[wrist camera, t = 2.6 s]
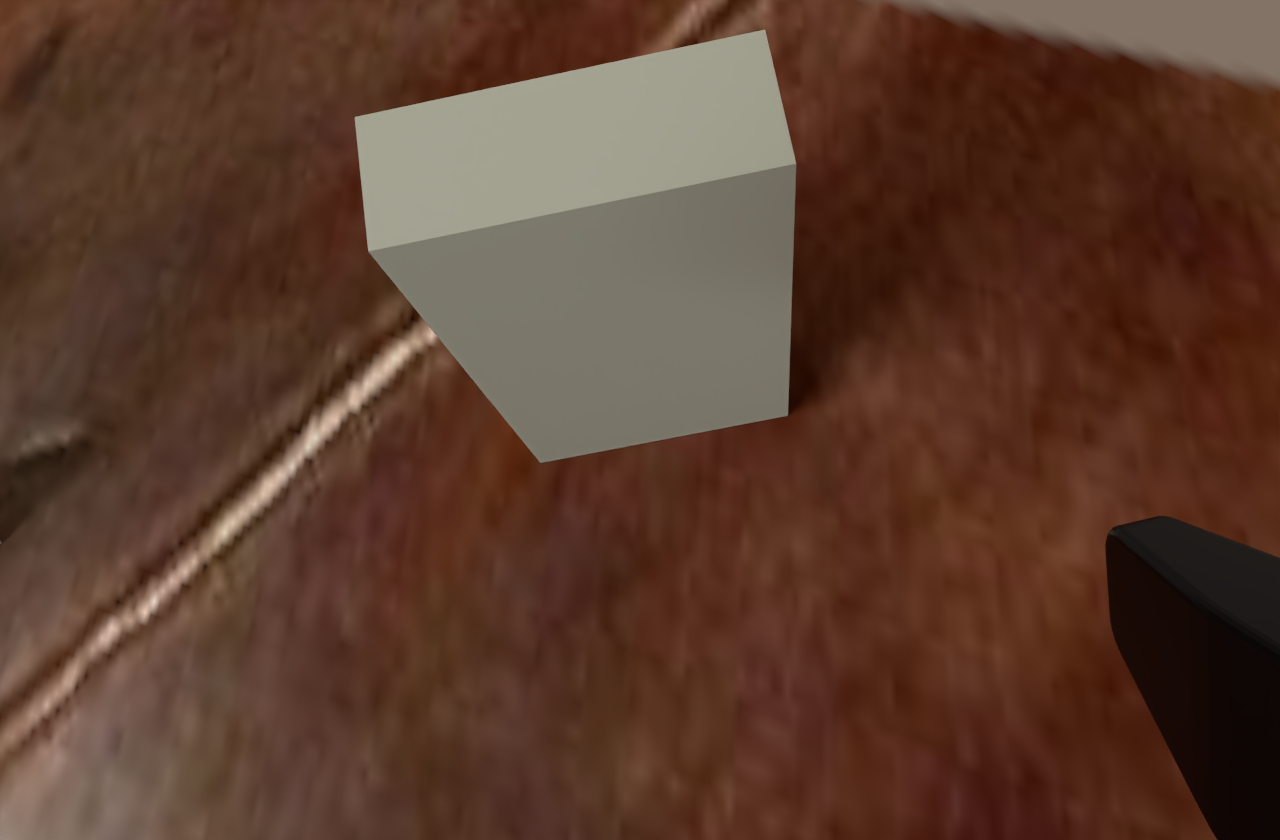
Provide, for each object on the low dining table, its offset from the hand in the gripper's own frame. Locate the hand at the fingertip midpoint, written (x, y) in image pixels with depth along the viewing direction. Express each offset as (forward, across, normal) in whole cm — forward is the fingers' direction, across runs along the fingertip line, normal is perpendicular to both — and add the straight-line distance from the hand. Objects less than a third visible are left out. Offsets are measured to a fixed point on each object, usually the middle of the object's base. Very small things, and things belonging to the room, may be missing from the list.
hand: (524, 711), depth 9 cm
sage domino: (+14, -1, +4) cm, 15 cm away
